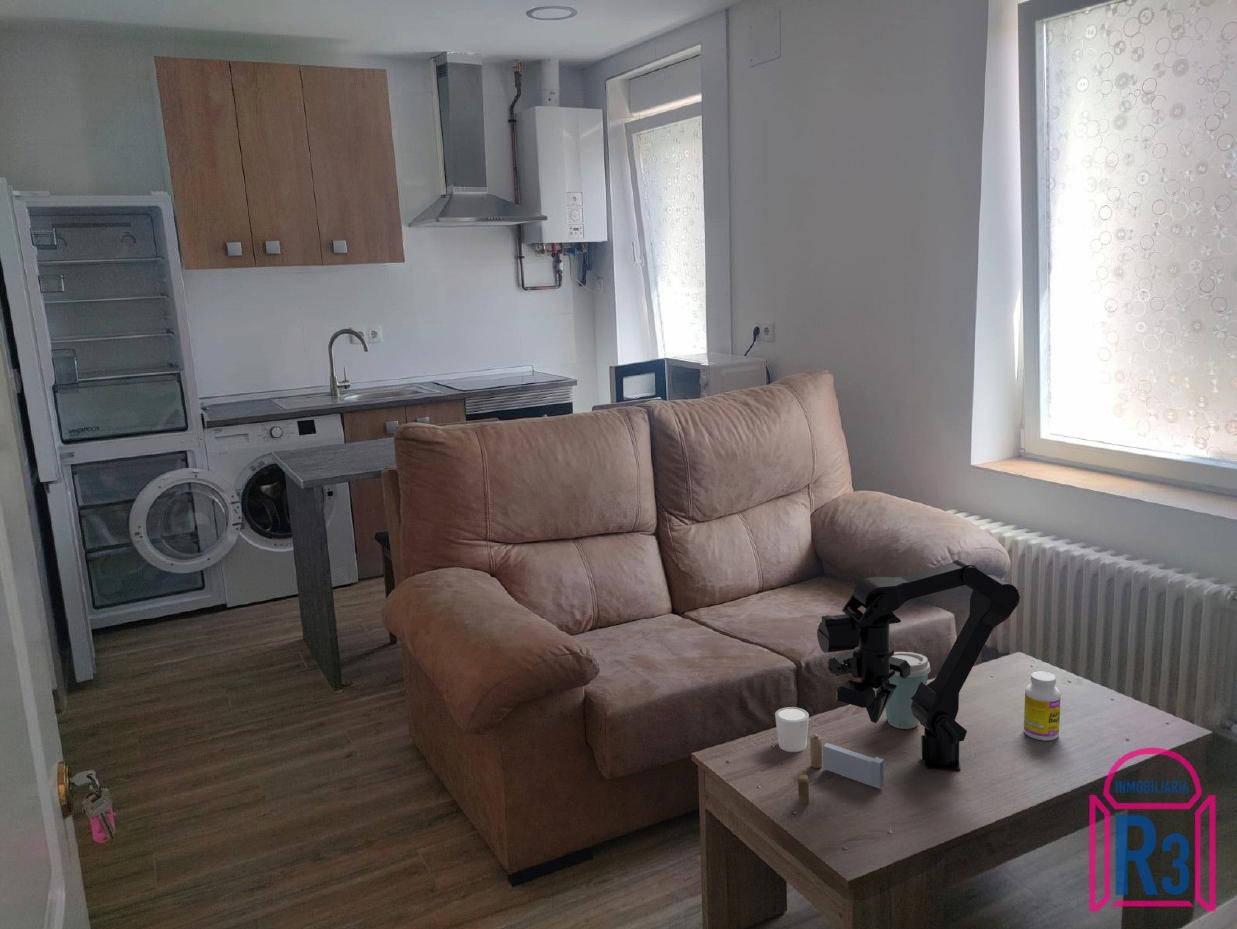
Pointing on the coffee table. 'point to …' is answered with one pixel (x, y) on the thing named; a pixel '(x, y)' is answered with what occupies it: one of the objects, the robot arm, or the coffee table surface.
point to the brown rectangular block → (803, 789)
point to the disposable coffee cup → (906, 690)
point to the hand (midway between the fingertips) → (874, 721)
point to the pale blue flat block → (847, 762)
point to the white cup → (792, 728)
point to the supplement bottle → (1042, 707)
